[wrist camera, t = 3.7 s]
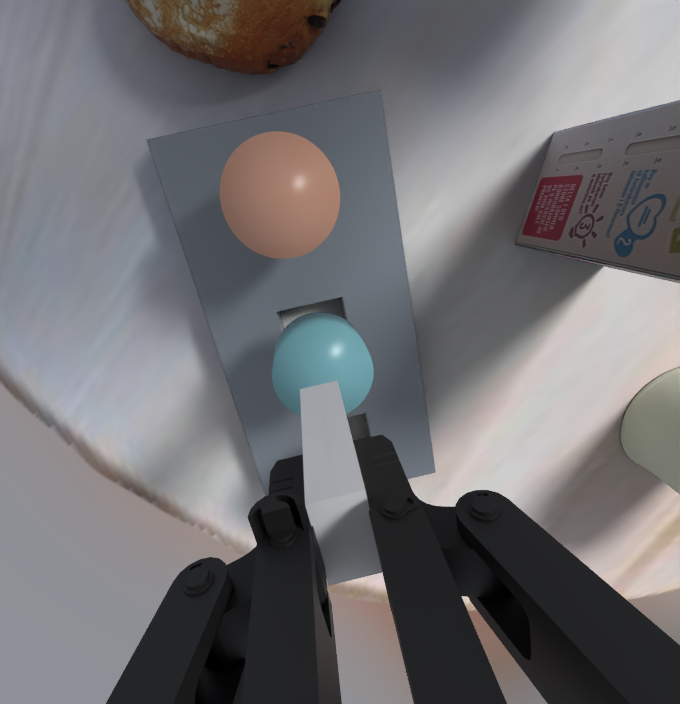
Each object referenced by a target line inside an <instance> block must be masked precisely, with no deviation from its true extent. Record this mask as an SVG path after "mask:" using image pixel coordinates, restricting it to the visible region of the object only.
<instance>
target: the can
mask: <svg viewBox="0 0 680 704" xmlns="http://www.w3.org/2000/svg"><path fill="white" fill-rule="evenodd" d="M621 443H622V446H623V449H624V451H625V453H626V454H627V455H628V457H629V458H630V459H631V460H632V461H633V462H635V463H636V464H638V465H640V466H642V467H644V468H646V469H647V470H648V471H650V472H651V473H652V474H654V475H655V476H656V477H658V478H659V479H661V480H662V481H663V482H665V483H666V484H667V485H668V486H670V487H671V488H672V489H674V490H675V491H676V492H678V493H679V494H680V367H679V368H676V369H673V370H671V371H668V372H666V373H664V374H662V375H660V376H659V377H657V378H655V379H654V380H653V381H651V382H650V383H649V384H647V385H646V386H645V387H644V388H643V389H642V390H641V391H640V392H639V393H638V394H637V395H636V397H635V398H634V399H633V401H632V402H631V404H630V405H629V407H628V409H627V411H626V413H625V415H624V418H623V421H622V425H621Z"/></svg>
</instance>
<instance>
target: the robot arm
mask: <svg viewBox="0 0 680 704" xmlns="http://www.w3.org/2000/svg"><path fill="white" fill-rule="evenodd" d="M300 402H301V425H302V448H303V454H302V455H298V456H294V457H290V458H286V459H281V460H277V462H276V463H275V465H274V466H273V468H272V470H271V471H270V479H269V484H270V485H269V494H268V495H267V496H265V497H264V498H262V499H261V500H259V501H258V502H257V503H256V504H255V505H254V506H253V507H252V508H251V510H250V512H249V515H248V520H249V522H250V525H251V528H252V531H253V533H254V536H255V539H256V542H257V546H256V547H255V548H254V549H253V550H252V551H251V552H249V553H248V554H246V555H245V556H243V557H241V558H240V559H238V560H236V561H234V562H232V563H230V564H228V565H226V564H225V563H224V562H223V561H222V560H220V559H219V558H212V557H209V558H205V559H200V560H198V561H196V562H194V563H192V564H190V565H189V566H188V567H186V568H185V569H184V570H183V571H182V572H180V573H179V575H178V576H177V577H176V579H175V580H174V581H173V583H172V585H171V587H170V588H169V590H168V592H167V594H166V596H165V598H164V600H163V601H162V603H161V605H160V607H159V608H158V610H157V612H156V614H155V616H154V618H153V619H152V621H151V623H150V625H149V627H148V628H147V630H146V632H145V634H144V636H143V637H142V639H141V641H140V643H139V645H138V646H137V648H136V650H135V652H134V654H133V656H132V657H131V659H130V661H129V663H128V665H127V666H126V668H125V670H124V672H123V674H122V675H121V677H120V679H119V681H118V683H117V684H116V686H115V688H114V690H113V692H112V694H111V696H110V697H109V699H108V701H107V703H106V704H342V703H341V693H340V684H339V673H338V664H337V654H336V644H335V634H334V624H333V614H332V605H331V601H330V598H329V594H328V591H327V581H328V585H333V584H337V583H341V582H345V581H349V580H353V579H357V578H361V577H365V576H369V575H373V574H377V573H381V572H383V576H384V581H385V585H386V589H387V594H388V598H389V603H390V607H391V611H392V614H393V618H394V623H395V627H396V631H397V635H398V639H399V643H400V648H401V652H402V656H403V660H404V664H405V668H406V672H407V676H408V681H409V685H410V689H411V693H412V697H413V702H414V704H507V703H506V701H505V698H504V696H503V694H502V691H501V689H500V687H499V684H498V682H497V680H496V677H495V675H494V672H493V670H492V668H491V665H490V663H489V661H488V658H487V656H486V654H485V651H484V649H483V646H482V644H481V642H480V639H479V637H478V635H477V632H476V630H475V628H474V625H473V623H472V621H471V618H470V616H469V614H468V611H467V609H466V606H465V604H464V602H463V599H462V597H461V596H468V597H469V599H470V601H471V603H472V604H473V605H474V607H475V608H476V609H477V610H478V612H479V613H480V614H481V616H482V617H483V618H484V620H485V621H486V622H487V624H488V625H489V626H490V628H491V629H492V630H493V632H494V633H495V634H496V635H497V637H498V638H499V640H500V641H501V642H502V643H503V645H504V646H505V647H506V649H507V650H508V652H509V653H510V654H511V655H512V657H513V658H514V659H515V661H516V662H517V663H518V665H519V666H520V667H521V669H522V670H523V671H524V672H525V674H526V675H527V676H528V678H529V679H530V681H531V682H532V683H533V685H534V686H535V687H536V689H537V690H538V691H539V692H540V694H541V695H542V697H543V698H544V699H545V700H546V702H547V703H548V704H680V645H679V644H677V643H676V642H675V641H674V640H673V639H672V638H670V637H669V636H668V635H667V634H666V633H665V632H663V631H662V630H661V629H660V628H659V627H658V626H656V625H655V624H654V623H653V622H652V621H650V620H649V619H648V618H647V617H646V616H645V615H644V614H642V613H641V612H640V611H639V610H638V609H636V608H635V607H634V606H633V605H632V604H630V603H629V602H628V601H627V600H626V599H625V598H624V597H622V596H621V595H620V594H619V593H618V592H617V591H615V590H614V589H613V588H612V587H611V586H609V585H608V584H607V583H606V582H605V581H604V580H602V579H601V578H600V577H599V576H598V575H597V574H595V573H594V572H593V571H592V570H591V569H590V568H588V567H587V566H586V565H585V564H584V563H583V562H581V561H580V560H579V559H578V558H577V557H575V556H574V555H573V554H572V553H571V552H570V551H568V550H567V549H566V548H565V547H564V546H563V545H561V544H560V543H559V542H558V541H557V540H556V539H554V538H553V537H552V536H551V535H550V534H549V533H547V532H546V531H545V530H544V529H543V528H541V527H540V526H539V525H538V524H537V523H536V522H534V521H533V520H532V519H531V518H530V517H529V516H527V515H526V514H525V513H524V512H523V511H522V510H520V509H519V508H518V507H517V506H516V505H514V504H513V503H512V502H511V501H510V500H509V499H507V498H506V497H504V496H502V495H501V494H499V493H496V492H493V491H489V490H476V491H472V492H469V493H466V494H465V495H463V496H462V497H460V498H459V500H458V502H457V503H456V507H441V506H433V505H430V504H426V503H424V502H423V501H421V500H419V499H418V498H417V496H415V495H414V493H413V491H412V489H411V487H410V484H409V482H408V479H407V477H406V475H405V472H404V470H403V467H402V465H401V463H400V461H399V458H398V455H397V453H396V451H395V448H394V446H393V443H392V441H390V440H389V439H388V438H386V437H385V436H384V435H377V436H373V437H369V438H365V439H361V440H356V441H353V439H352V435H351V431H350V428H349V424H348V420H347V416H346V412H345V408H344V404H343V400H342V396H341V392H340V388H339V384H338V381H333V382H329V383H324V384H320V385H316V386H312V387H307V388H303V389H300ZM326 578H327V581H326Z"/></svg>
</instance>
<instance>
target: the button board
mask: <svg viewBox="0 0 680 704" xmlns="http://www.w3.org/2000/svg"><path fill="white" fill-rule="evenodd" d="M272 131H282V132H289V133H293V134H296V135H299V136H301V137H303V138H305V139H307V140H308V141H310V142H312V143H313V144H314V145H315V146H317V147H318V148H319V149H320V150H321V151H322V152H323V153H324V154H325V156H326V157H327V159H328V160H329V161H330V163H331V165H332V167H333V169H334V171H335V173H336V176H337V179H338V183H339V189H340V208H339V213H338V217H337V220H336V223H335V225H334V227H333V229H332V231H331V232H330V234H329V235H328V237H327V238H326V239H325V240H324V241H323V242H322V243H321V244H320V245H319V246H318V247H317V248H315V249H314V250H312V251H310V252H309V253H307V254H304V255H302V256H299V257H295V258H289V259H278V258H271V257H267V256H264V255H261V254H259V253H257V252H255V251H253V250H251V249H250V248H248V247H247V246H245V245H244V244H243V243H242V242H241V241H240V240H239V239H238V238H237V237H236V236H235V235H234V233H233V232H232V230H231V229H230V227H229V226H228V224H227V222H226V220H225V217H224V214H223V212H222V207H221V203H220V182H221V176H222V173H223V169H224V167H225V165H226V163H227V161H228V159H229V158H230V156H231V154H232V153H233V152H234V151H235V150H236V148H238V147H239V146H240V145H241V144H242V143H243V142H245V141H246V140H248V139H249V138H251V137H253V136H256V135H258V134H262V133H265V132H272ZM147 143H148V146H149V149H150V152H151V155H152V158H153V161H154V164H155V167H156V170H157V173H158V176H159V179H160V182H161V185H162V188H163V190H164V193H165V196H166V199H167V202H168V205H169V208H170V211H171V214H172V217H173V220H174V223H175V226H176V229H177V232H178V235H179V238H180V241H181V244H182V247H183V250H184V253H185V256H186V259H187V262H188V265H189V268H190V271H191V274H192V277H193V280H194V283H195V286H196V289H197V292H198V295H199V298H200V301H201V304H202V307H203V310H204V313H205V316H206V318H207V321H208V324H209V327H210V330H211V333H212V336H213V339H214V342H215V345H216V348H217V351H218V354H219V357H220V360H221V363H222V366H223V369H224V372H225V375H226V378H227V381H228V384H229V387H230V390H231V393H232V396H233V399H234V402H235V405H236V408H237V411H238V414H239V417H240V420H241V423H242V426H243V429H244V432H245V435H246V438H247V441H248V444H249V446H250V449H251V452H252V455H253V458H254V461H255V464H256V467H257V470H258V473H259V476H260V479H261V482H262V485H263V488H264V491H265V494H266V496H267V495H268V494H269V485H270V484H269V479H270V471H271V470H272V468H273V466H274V465H275V463H276V462H277V460H281V459H286V458H290V457H294V456H298V455H302V454H303V448H302V425H301V416H300V415H297V414H295V413H294V412H292V411H291V410H289V409H288V408H287V407H286V406H285V405H284V404H283V403H282V402H281V400H280V399H279V398H278V396H277V394H276V392H275V389H274V386H273V381H272V368H273V360H274V352H275V346H276V343H277V340H278V338H279V336H280V334H281V333H282V331H283V330H284V327H283V323H282V319H281V315H280V311H282V310H286V309H291V308H295V307H300V306H304V305H309V304H313V303H318V302H322V301H326V300H331V299H335V298H340V297H341V302H342V307H343V311H344V316H345V319H346V320H347V321H349V322H350V323H351V324H352V325H353V326H354V327H355V328H356V329H357V330H358V332H359V333H360V335H361V337H362V339H363V341H364V343H365V345H366V347H367V349H368V352H369V354H370V356H371V359H372V363H373V369H374V373H373V382H372V385H371V388H370V390H369V392H368V394H367V396H366V397H365V399H364V400H363V401H362V402H361V404H360V405H358V406H357V407H356V408H355V409H354V410H352V411H351V412H349V413H347V414H346V416H347V417H351V416H356V415H360V414H364V413H365V418H366V422H367V427H368V432H369V437H373V436H377V435H384V436H385V437H386V438H388V439H389V440H390V441H392V443H393V446H394V448H395V451H396V453H397V455H398V458H399V461H400V463H401V465H402V467H403V470H404V472H405V475H406V477H407V479H409V478H414V477H418V476H422V475H426V474H430V473H435V465H434V458H433V451H432V444H431V437H430V430H429V423H428V416H427V409H426V402H425V395H424V388H423V382H422V375H421V368H420V361H419V354H418V347H417V340H416V333H415V326H414V319H413V312H412V305H411V298H410V291H409V284H408V277H407V270H406V263H405V256H404V249H403V242H402V235H401V228H400V221H399V214H398V207H397V200H396V194H395V187H394V180H393V173H392V166H391V159H390V152H389V145H388V138H387V131H386V124H385V117H384V110H383V103H382V96H381V90H377V91H373V92H368V93H363V94H359V95H354V96H349V97H345V98H340V99H335V100H330V101H326V102H321V103H316V104H312V105H307V106H302V107H298V108H293V109H288V110H284V111H279V112H274V113H269V114H265V115H260V116H255V117H251V118H246V119H241V120H237V121H232V122H227V123H223V124H218V125H213V126H209V127H204V128H199V129H194V130H190V131H185V132H180V133H176V134H171V135H166V136H162V137H157V138H152V139H148V140H147Z"/></svg>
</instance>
